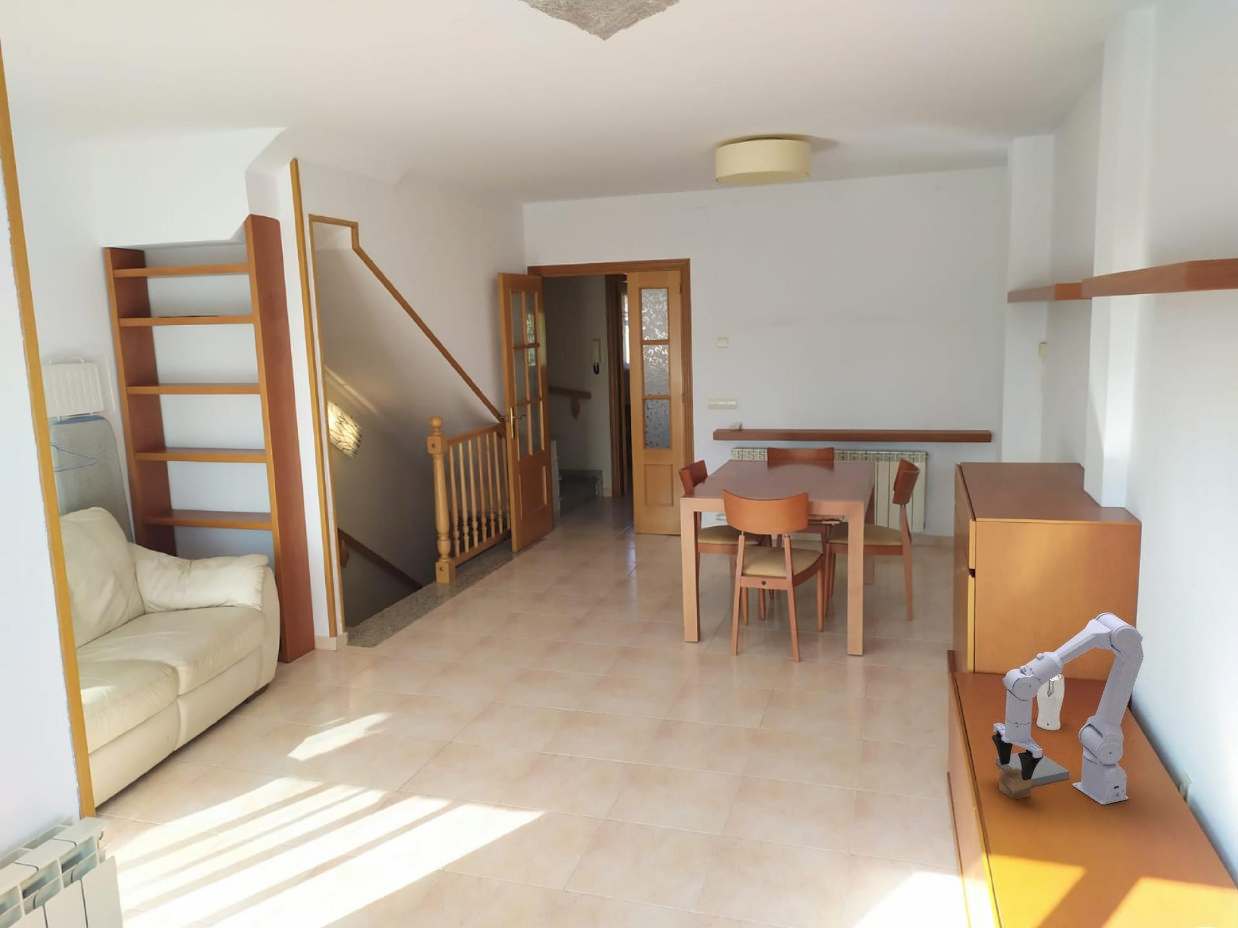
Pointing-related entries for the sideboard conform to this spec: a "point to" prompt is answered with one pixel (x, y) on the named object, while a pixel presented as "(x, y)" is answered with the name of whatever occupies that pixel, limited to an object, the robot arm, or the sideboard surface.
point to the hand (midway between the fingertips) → (1015, 771)
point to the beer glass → (1050, 703)
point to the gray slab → (1039, 770)
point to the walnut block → (1014, 784)
